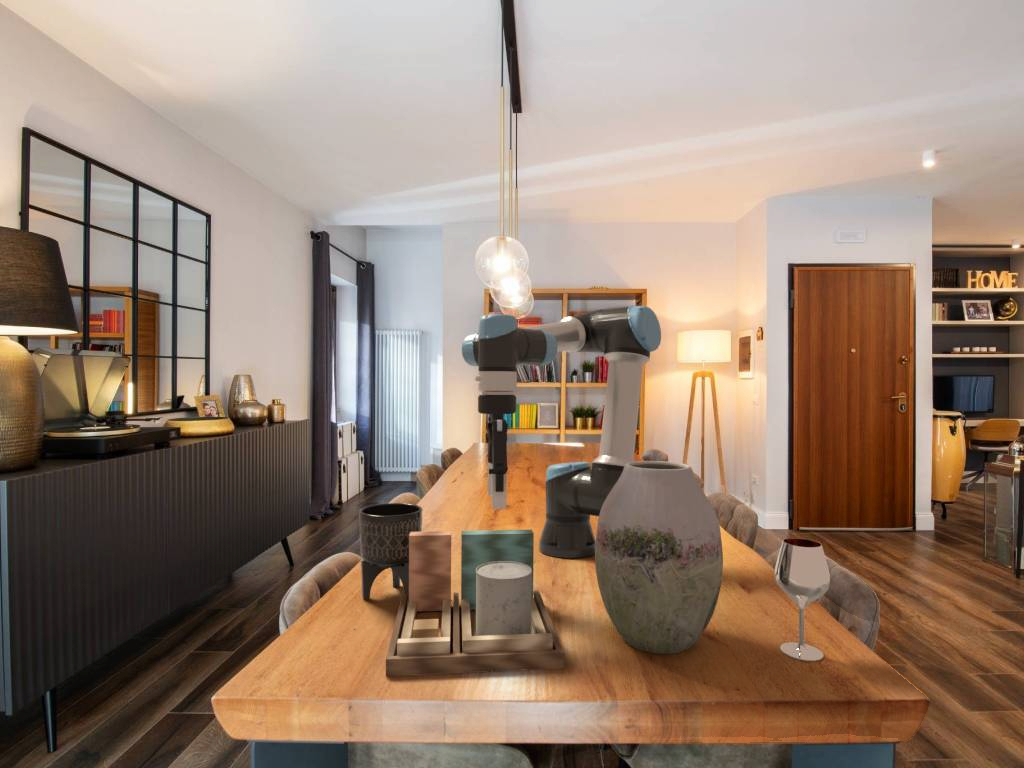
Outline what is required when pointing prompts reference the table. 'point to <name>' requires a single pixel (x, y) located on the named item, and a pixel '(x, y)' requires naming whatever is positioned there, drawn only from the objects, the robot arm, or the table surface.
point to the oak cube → (425, 628)
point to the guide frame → (472, 660)
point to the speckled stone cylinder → (503, 598)
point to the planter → (387, 542)
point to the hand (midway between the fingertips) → (496, 501)
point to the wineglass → (802, 586)
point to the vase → (658, 556)
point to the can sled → (473, 554)
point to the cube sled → (428, 591)
